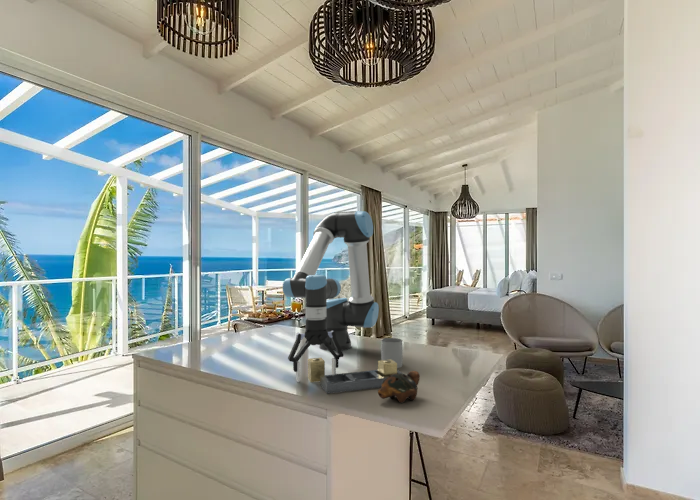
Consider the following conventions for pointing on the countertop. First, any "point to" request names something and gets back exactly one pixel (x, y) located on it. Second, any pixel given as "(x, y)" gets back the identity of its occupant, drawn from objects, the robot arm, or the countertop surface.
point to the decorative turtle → (400, 386)
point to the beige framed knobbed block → (387, 368)
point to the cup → (392, 350)
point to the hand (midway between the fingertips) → (316, 378)
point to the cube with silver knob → (315, 369)
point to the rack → (352, 381)
